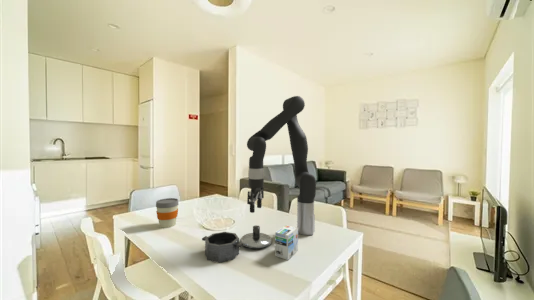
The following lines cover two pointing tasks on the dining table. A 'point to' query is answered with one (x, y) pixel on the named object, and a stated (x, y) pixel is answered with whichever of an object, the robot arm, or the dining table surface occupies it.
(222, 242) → the pot
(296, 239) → the light bulb box
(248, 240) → the lid
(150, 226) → the dining table surface
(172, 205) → the reusable coffee cup
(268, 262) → the dining table surface
